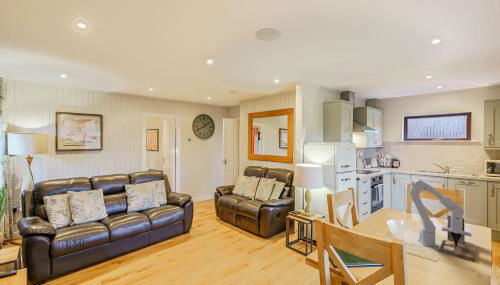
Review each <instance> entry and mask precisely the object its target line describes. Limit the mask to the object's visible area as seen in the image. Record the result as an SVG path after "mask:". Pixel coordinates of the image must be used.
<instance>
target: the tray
mask: <svg viewBox="0 0 500 285" xmlns="http://www.w3.org/2000/svg"><path fill="white" fill-rule="evenodd" d="M445 241H447V240H445V239H442V241H441V243H440V246H439V249H438V252H439V253H442V254H447V255H450V256H454V252H453V251H449V250H445V249H443V248H444V245H445ZM448 241H449V242H451V241H450V240H448ZM453 248H454V251H455V248H456V245H455V247H453Z"/></svg>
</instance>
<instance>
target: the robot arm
mask: <svg viewBox="0 0 500 285" xmlns="http://www.w3.org/2000/svg"><path fill="white" fill-rule="evenodd" d="M423 190H424V191H425V192H430V193H431V194H432V195H433V196H435V197H436V198H438V199H439V203H440V204H441V205H442V206H444V207H446V209H448V210H449V211H450V216H451V228H448V227H444V226H442V228H441V231H442V232H446V233H448V232H451V236H452V237H453V240H454V241H453V242H454V243H455V245H458V243H459V242H458V241H459V239H460V238H461V236H462V235H464V236H468V237H470V238H471V237H472V232H469V231H465V230H464V231H462V218H463V215H464V213H465V211H464V209H463V208H462V207H461V206H460V205H459V203H457V202H455V201H454V200H452V198H451V197H450V196H447V195H442V193H440V192H439V191H438V190H436V189H435V188H434V187H433V186H432V185H430V184H429V183H427V182H426V181H424V180H423V179H421V178H415V179H414V180H413V181H412V182H411V186H410V191H409V194H410V196H411V199H412V201H413V203H414V206H415V207H416V210H417V212H418V214H419V216H420V218H421V220H422V221H421V224H422V226H423V227H422V228H421V229H420V230H419V238H418V241H419V242H420V243H421V244H422V245H423V246H426V247H439V245H438V244H436V230H437V228H436V225H435V224H434V222H433V221H432V220H431V218H430V216H429V215H428V211H427V210H426V208H425V206H424V203H423V202H422V199H421V197H420V193H421V192H422V191H423ZM456 233H457V234H456Z"/></svg>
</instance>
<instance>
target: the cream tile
mask: <svg viewBox="0 0 500 285" xmlns="http://www.w3.org/2000/svg"><path fill="white" fill-rule="evenodd" d="M443 249H445V250H449V251H453V252H454V248H453V247H449V246H445V245H444V248H443Z"/></svg>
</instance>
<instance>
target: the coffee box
mask: <svg viewBox="0 0 500 285" xmlns="http://www.w3.org/2000/svg"><path fill="white" fill-rule="evenodd" d="M447 228H451V215H448V216H447ZM462 231H465V218H464V217H462ZM456 234H457V233H456ZM447 241H450V242H454V240H453V237H452V236H451V232H447ZM458 243H461V244H465V235H462V236H461V238H460V239H459V241H458Z"/></svg>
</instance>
